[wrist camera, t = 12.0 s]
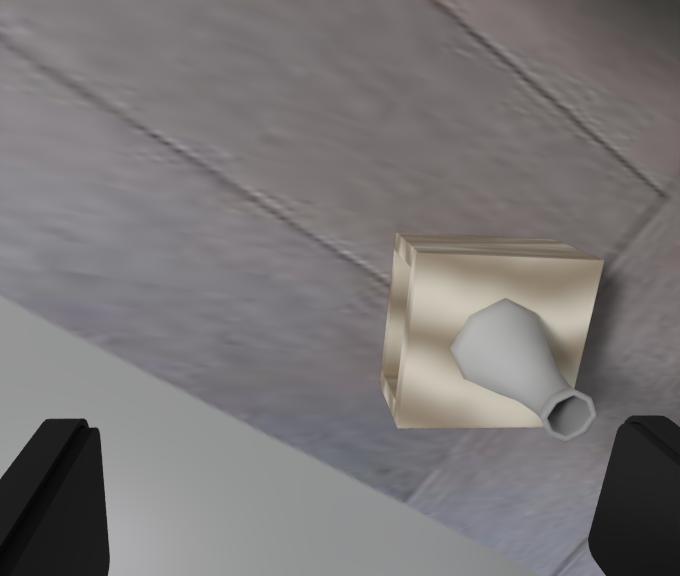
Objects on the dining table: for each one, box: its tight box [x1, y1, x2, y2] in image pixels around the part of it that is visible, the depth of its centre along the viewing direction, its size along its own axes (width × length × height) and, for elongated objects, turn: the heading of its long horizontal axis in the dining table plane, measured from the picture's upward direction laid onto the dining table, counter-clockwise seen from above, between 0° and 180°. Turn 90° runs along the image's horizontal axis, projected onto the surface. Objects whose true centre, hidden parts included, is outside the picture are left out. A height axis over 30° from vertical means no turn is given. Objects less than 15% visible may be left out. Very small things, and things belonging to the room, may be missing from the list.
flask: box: [450, 298, 598, 442], centre depth 34 cm, size 7×7×10 cm
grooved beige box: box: [380, 232, 604, 428], centre depth 42 cm, size 14×14×7 cm
